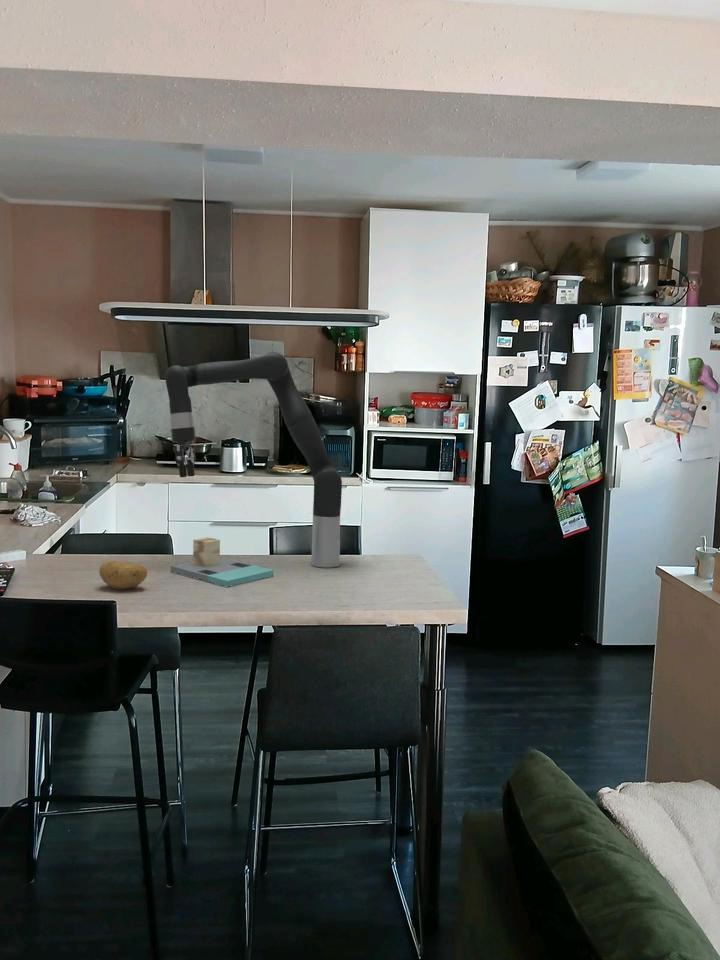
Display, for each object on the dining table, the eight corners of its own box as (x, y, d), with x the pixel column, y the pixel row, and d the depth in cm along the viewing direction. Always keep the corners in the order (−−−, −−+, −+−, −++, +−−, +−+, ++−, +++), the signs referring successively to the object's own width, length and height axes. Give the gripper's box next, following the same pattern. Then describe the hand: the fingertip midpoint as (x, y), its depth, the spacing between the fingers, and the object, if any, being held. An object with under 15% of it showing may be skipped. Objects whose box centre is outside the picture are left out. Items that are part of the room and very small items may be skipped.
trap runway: (170, 572, 277) (170, 565, 277) (217, 562, 293) (217, 556, 293) (227, 587, 262) (227, 580, 261) (273, 576, 277) (273, 570, 277)
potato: (140, 594, 250) (140, 567, 249) (93, 590, 252) (93, 564, 251) (152, 585, 260) (152, 559, 259) (107, 582, 262) (107, 556, 261)
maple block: (193, 563, 281) (193, 539, 280) (207, 560, 286) (207, 537, 285) (205, 567, 277) (205, 542, 276) (219, 564, 282) (219, 539, 281)
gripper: (187, 425, 276) (192, 476, 277) (200, 426, 290) (204, 474, 291) (164, 428, 277) (169, 478, 277) (178, 428, 291) (183, 476, 292)
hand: (187, 476), depth 284 cm, fingers open, 8 cm apart
